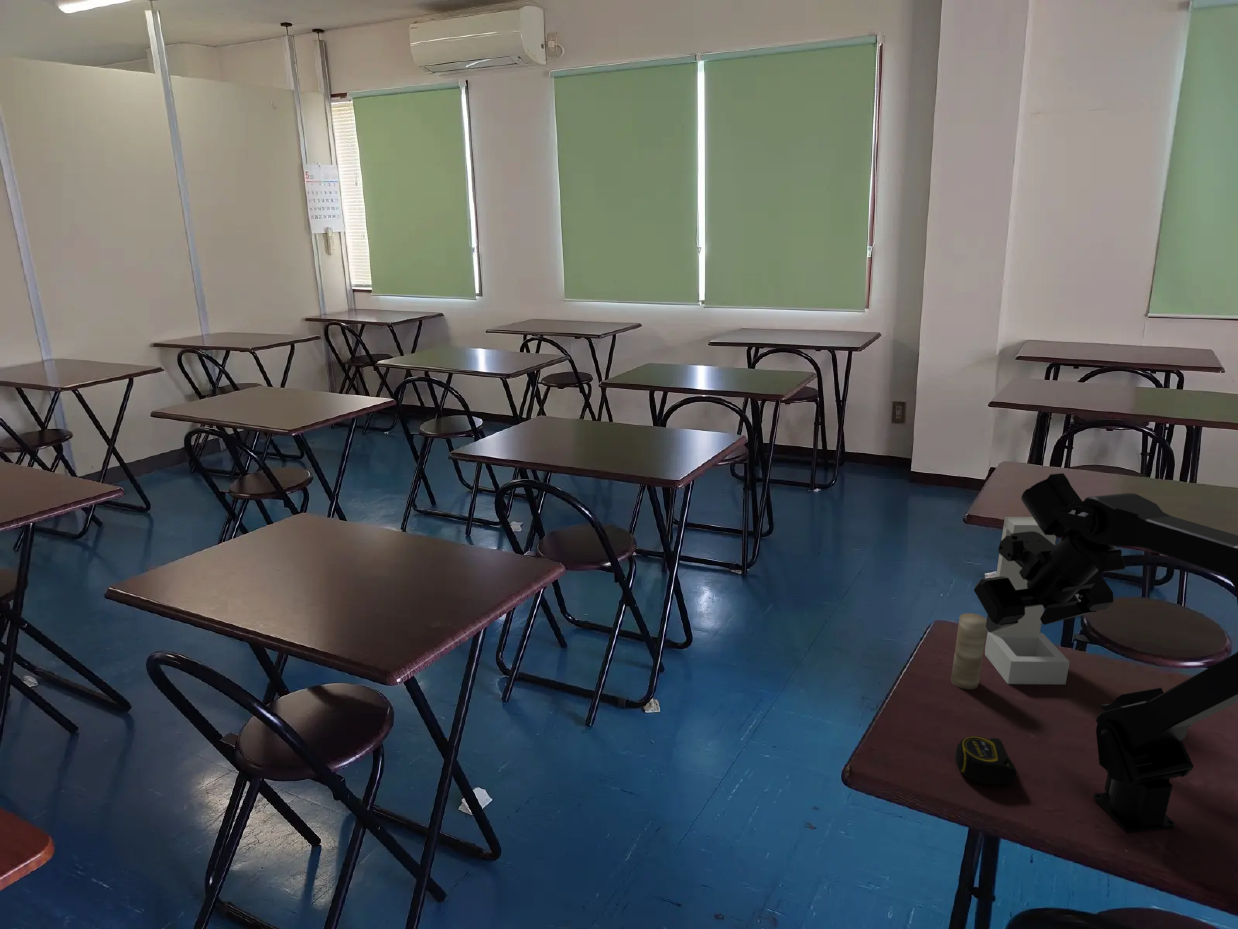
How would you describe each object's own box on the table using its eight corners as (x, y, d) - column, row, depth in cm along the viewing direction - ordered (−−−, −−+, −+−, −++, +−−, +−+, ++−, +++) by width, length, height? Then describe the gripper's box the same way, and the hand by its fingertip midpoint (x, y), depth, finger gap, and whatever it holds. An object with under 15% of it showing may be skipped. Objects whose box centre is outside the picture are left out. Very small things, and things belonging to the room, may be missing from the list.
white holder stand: (1065, 684, 133) (1091, 542, 126) (1007, 684, 133) (1030, 542, 126) (1035, 650, 143) (1058, 517, 136) (981, 650, 143) (1001, 516, 136)
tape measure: (1016, 792, 110) (1020, 768, 109) (960, 787, 111) (964, 763, 109) (1000, 759, 116) (1004, 735, 115) (948, 754, 117) (951, 731, 116)
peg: (983, 688, 132) (993, 625, 129) (959, 690, 132) (968, 626, 128) (970, 674, 136) (979, 612, 133) (946, 676, 136) (954, 614, 132)
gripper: (1095, 509, 120) (1040, 573, 131) (980, 521, 115) (934, 586, 127) (1144, 575, 113) (1081, 636, 124) (1023, 590, 108) (969, 652, 120)
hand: (1015, 625), depth 124 cm, fingers open, 9 cm apart
